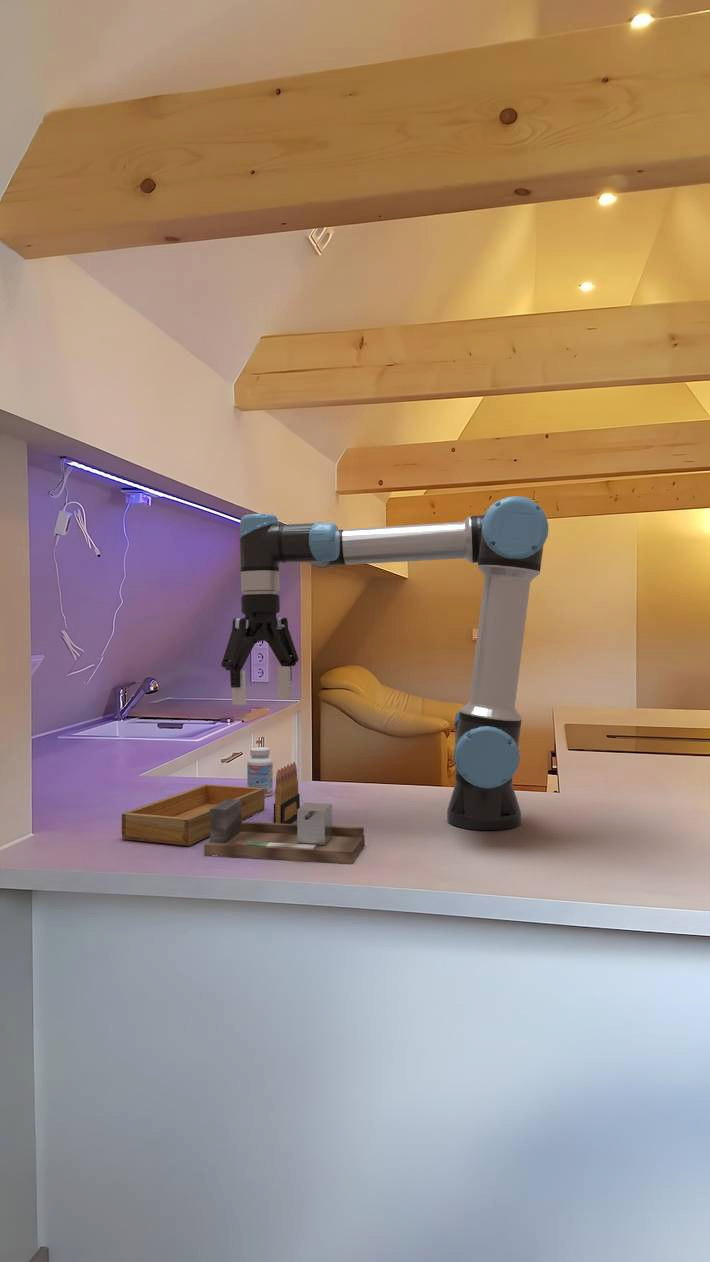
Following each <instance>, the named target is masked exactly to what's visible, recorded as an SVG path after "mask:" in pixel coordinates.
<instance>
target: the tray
mask: <svg viewBox="0 0 710 1262" xmlns="http://www.w3.org/2000/svg"><path fill="white" fill-rule="evenodd" d="M226 799H235V800H241V822H243V821H244V820H246V819H248V818H250V816H251V817H253V816H255V815H257V814H259V813H261V812H264V811H265V807H266V806H265V801H266V800H265V799H266V797H265V796H264V788H252V787H248V786H235V785H222V784H221V785H219V784H208V783H205V784H203V785H200V786H196V787H194V788H192V789H188V790H185V791H182V792H180V793H177V794H173V795H171V796H169V797H166V798H163V799H160V800H156V801H154V802H151V803H148V804H145V805H142V806H140V807H136V808H134V809H131V810H129V811H126V812H122V813H121V839H122V840H129V841H141V842H149V843H161V844H168V845H169V844H170V845H179V846H186V847H187V846H192V845H193V844H195V843H197V842H199V841H201V840H203V839H205V838H208V837H210V809H211V808H213V807H214V806H216V805H217V804H219V803H221V802H222V801H224V800H226ZM256 813H257V814H256ZM254 814H255V815H254ZM252 815H253V816H252Z"/></svg>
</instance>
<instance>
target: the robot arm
mask: <svg viewBox="0 0 710 1262" xmlns="http://www.w3.org/2000/svg"><path fill="white" fill-rule="evenodd" d="M547 518H548V517H547V515H546V514H545V512H544V510H543V508H541V506H540V505H539V504H538V503H537V502H535V501H534V500H532V499H530V498H529V497H525V496H521V495H520V496H519V495H518V496H517V495H514V496H512V495H511V496H508V497H503V498H502V499H499V500H497V501H495V503H493V504H492V505H491V506H490V507H488V508H487V511H486V512H485V513H484V514H480V515H479V514H478V515H469V516H468V517H467V518H465V520H463V521H455V522H454V521H453V522H452V521H451V522H437V523H422V524H421V523H419V524H407V525H393V526H392V525H391V526H390V525H389V526H378V527H377V526H376V527H360V528H359V527H358V528H357V527H356V528H345V529H339V528H338V525H336V523H333V522H322V521H317V522H308V523H293V524H292V523H290V524H282V523H280V522H279V521H278V516H277V515H275V514H271V513H249V514H246V515H243V516H242V517H241V518H240V521H239V522H240V523H239V537H238V541H239V556H240V558H239V559H240V586H241V588H240V590H241V591H240V592H241V593H244V595H241V597H240V599H241V600H240V601H241V602H240V605H241V607H240V608H241V609H240V610H241V613H242V614H244V617H239V618H237V617H236V618H235V617H234V618H233V619H232V626H231V627H232V629H231V632H230V636H229V639H228V642H227V646H226V648H225V652H224V654H223V658H222V661H221V667H222V668H223V669H224V668H225V670H226V671H229V672H230V674H229V675H230V687H231V688H232V695H231V696H232V705H233V706H235V705H236V706H246V705H247V693H246V692H247V690H246V688H247V687H246V686H247V685H246V670H244V669H243V667H244V666H245V664H246V661H247V660H248V658H249V656H250V654H251V652H252V650H253V649H254V646H255V644H257V643H258V642H263V641H264V642H265V643H267V644H268V646H269V647H270V649H271V651H272V653H273V654H274V656H275V658H276V660H277V661H278V663H279V664H280V666H277V691H278V696H277V697H278V699H286V700H287V699H288V700H289V699H292V685H291V682H292V675H293V674H292V667H294V666H296V665H297V663H298V662H299V656H298V654H297V650H296V648H295V645H294V641H293V638H292V635H291V632H290V629H289V624H288V623H289V622H288V618H287V617H277V614H279V613H280V611H281V610H280V609H281V607H280V604H281V603H280V600H281V599H280V595H279V594H278V593H279V591H280V568H279V565H280V563H281V564H283V563H307V564H310V565H312V566H313V567H315V568H318V569H322V568H323V569H327V568H330V567H335V566H346V565H347V566H349V565H365V564H369V565H370V564H385V563H388V564H389V563H404V562H422V561H437V560H438V561H439V560H440V561H441V560H442V561H443V560H455V559H456V560H458V559H459V560H461V559H465V560H467V561H468V562H469V563H470V564H476V563H477V569H478V570H479V571H480V572H481V574H482V575H483V577H484V578H483V585H482V596H481V602H480V603H481V604H480V609H479V619H478V625H477V626H478V627H477V636H476V641H475V642H476V643H475V649H474V650H475V652H474V659H473V667H472V674H471V675H472V676H471V681H470V690H469V691H470V692H469V700H468V702H467V703H466V704H465V705H464V706H463V707H461V708H460V709H459V710H458V711H457V712H456V713H455V715H454V716H455V717H454V722H453V725H454V750H453V761H454V765H455V769H454V771H455V776H454V777H455V778H454V779H455V780H454V782H455V783H454V787H453V791H452V794H451V797H450V800H449V802H448V806H447V811H446V814H447V815H446V817H447V819H446V820H447V822H448V823H449V824H451V825H453V826H456V827H459V828H463V829H469V830H476V831H477V830H478V831H500V830H501V831H502V830H509V829H513V828H516V827H519V826H520V825H522V810H521V808H520V805H519V802H518V798H517V795H516V792H515V789H514V786H513V777H514V775H515V774H516V771H517V770H518V767H519V766H520V759H521V757H520V750H519V742H520V736H521V735H520V734H521V727H522V726H521V725H522V716H521V715H520V714H519V712H518V711H517V710H516V701H517V692H518V683H519V676H520V669H521V661H522V660H521V659H522V653H523V644H524V637H525V628H526V620H527V612H528V604H529V595H530V588H531V583H532V581H533V580H534V579H535V578H537V577H538V576H539V575H540V574H541V567H542V560H543V553H544V544H545V543H546V541H547V538H548V536H549V535H548V534H549V521H548V519H547ZM277 592H278V593H277Z"/></svg>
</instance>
